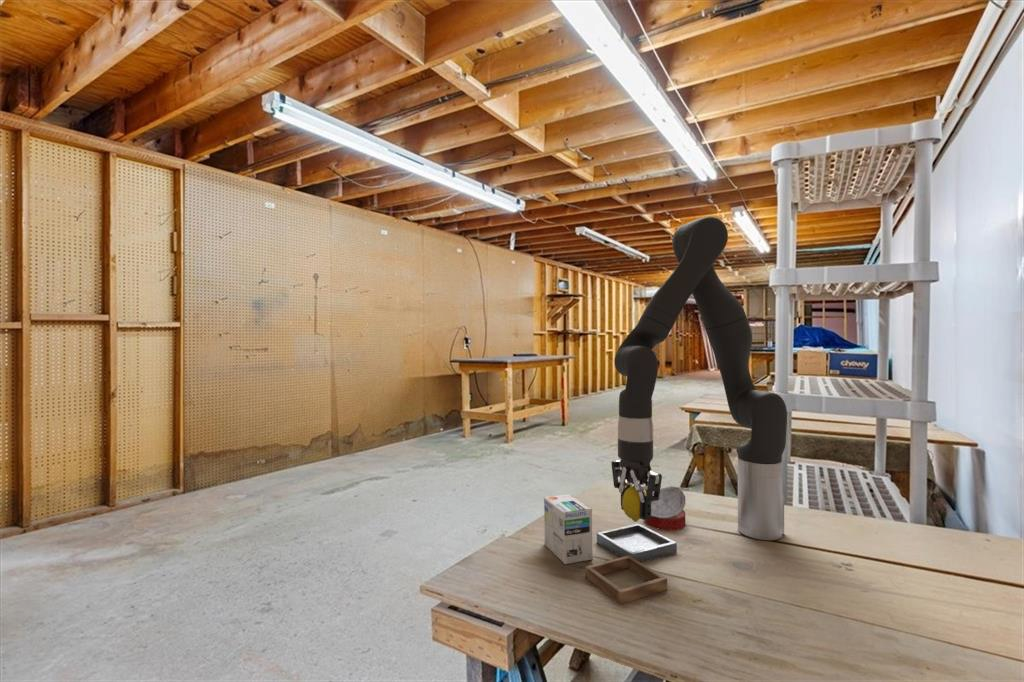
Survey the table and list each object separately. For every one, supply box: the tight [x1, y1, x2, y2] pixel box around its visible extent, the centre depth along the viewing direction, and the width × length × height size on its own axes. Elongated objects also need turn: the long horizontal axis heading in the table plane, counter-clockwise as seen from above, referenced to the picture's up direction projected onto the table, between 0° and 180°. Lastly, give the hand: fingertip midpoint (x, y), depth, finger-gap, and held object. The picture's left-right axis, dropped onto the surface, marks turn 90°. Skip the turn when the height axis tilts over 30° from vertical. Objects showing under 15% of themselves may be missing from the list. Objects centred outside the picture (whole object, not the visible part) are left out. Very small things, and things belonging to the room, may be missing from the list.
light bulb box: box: [543, 493, 594, 565], centre depth 104 cm, size 11×7×11 cm, turn 20°
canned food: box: [643, 485, 686, 531], centre depth 120 cm, size 11×10×10 cm
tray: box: [596, 523, 678, 564], centre depth 106 cm, size 12×12×2 cm
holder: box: [584, 555, 668, 605], centre depth 90 cm, size 11×11×2 cm
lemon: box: [622, 484, 646, 523], centre depth 105 cm, size 6×6×8 cm
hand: (635, 513), depth 105 cm, fingers closed on lemon, 5 cm apart
